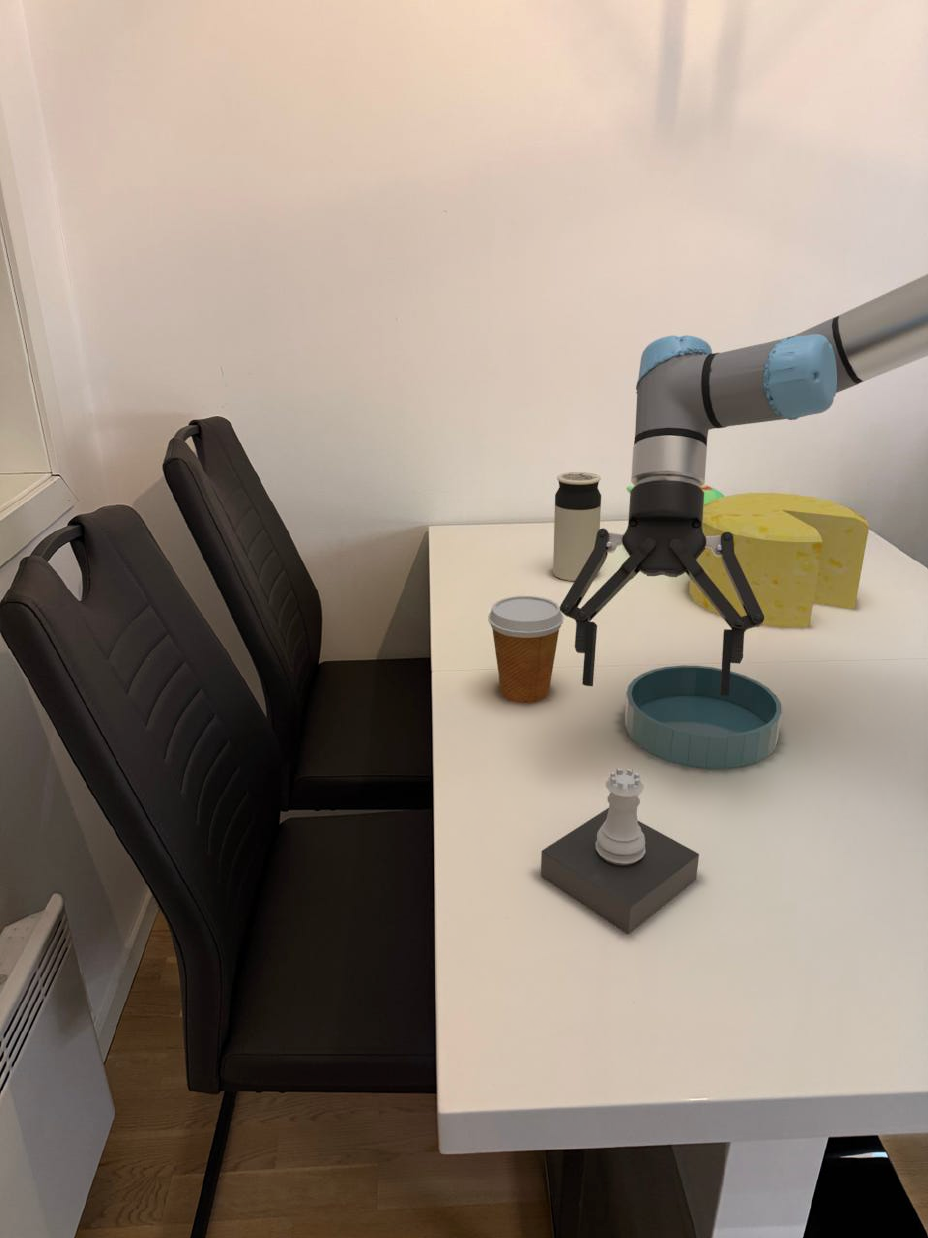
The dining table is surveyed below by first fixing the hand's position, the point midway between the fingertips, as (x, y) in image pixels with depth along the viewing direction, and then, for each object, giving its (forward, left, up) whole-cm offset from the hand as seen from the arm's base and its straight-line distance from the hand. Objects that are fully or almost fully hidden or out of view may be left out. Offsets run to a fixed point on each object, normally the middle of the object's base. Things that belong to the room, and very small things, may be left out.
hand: (654, 691), depth 85 cm
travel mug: (+62, -26, -12) cm, 68 cm away
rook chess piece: (-11, +10, -9) cm, 18 cm away
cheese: (+39, -50, -12) cm, 64 cm away
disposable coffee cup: (+25, +2, -12) cm, 28 cm away
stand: (-11, +10, -12) cm, 19 cm away
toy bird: (+64, -50, -12) cm, 82 cm away
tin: (+8, -13, -12) cm, 19 cm away
